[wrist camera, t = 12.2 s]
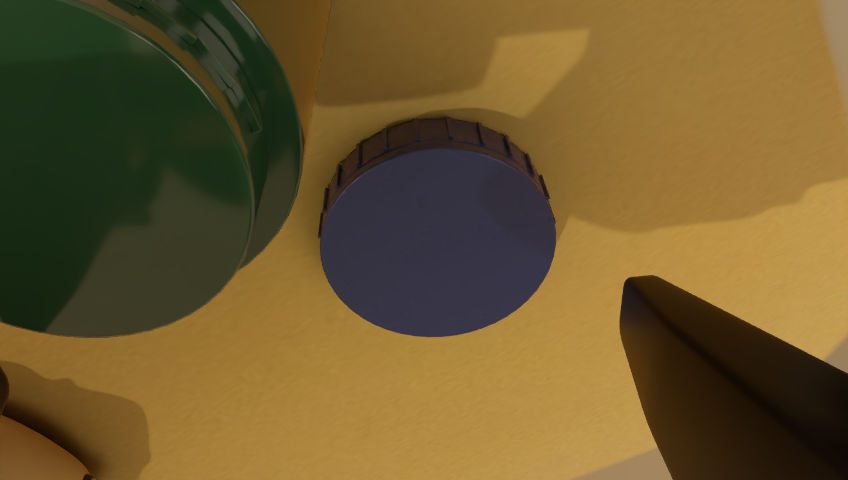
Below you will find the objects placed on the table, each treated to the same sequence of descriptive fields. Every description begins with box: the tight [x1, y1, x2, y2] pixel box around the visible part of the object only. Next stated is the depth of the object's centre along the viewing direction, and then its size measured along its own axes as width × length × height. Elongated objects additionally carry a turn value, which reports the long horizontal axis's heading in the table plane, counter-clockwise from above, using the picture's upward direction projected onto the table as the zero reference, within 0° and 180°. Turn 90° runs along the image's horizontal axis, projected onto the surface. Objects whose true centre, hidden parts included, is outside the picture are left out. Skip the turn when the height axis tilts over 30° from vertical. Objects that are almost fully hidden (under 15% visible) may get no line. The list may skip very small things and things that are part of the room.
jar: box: [0, 0, 331, 338], centre depth 13 cm, size 6×6×9 cm
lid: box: [318, 117, 556, 337], centre depth 20 cm, size 7×7×2 cm
